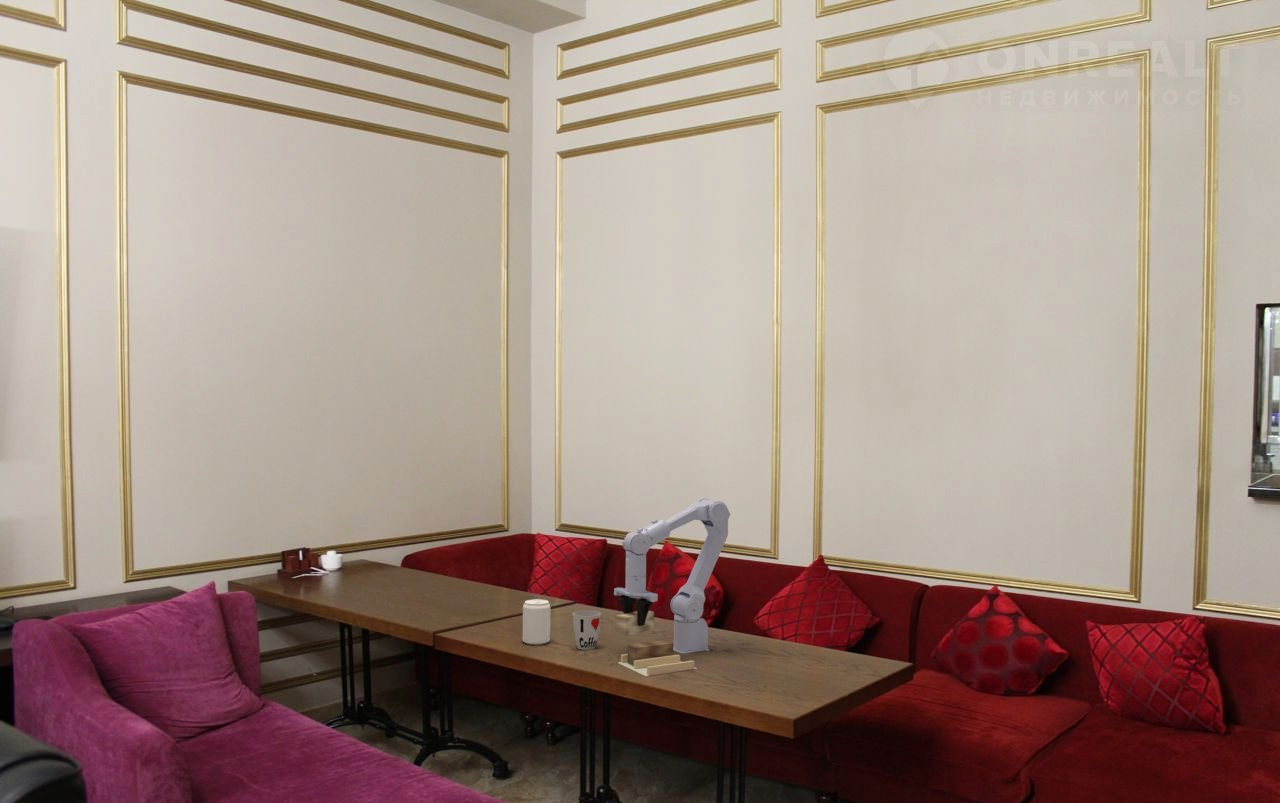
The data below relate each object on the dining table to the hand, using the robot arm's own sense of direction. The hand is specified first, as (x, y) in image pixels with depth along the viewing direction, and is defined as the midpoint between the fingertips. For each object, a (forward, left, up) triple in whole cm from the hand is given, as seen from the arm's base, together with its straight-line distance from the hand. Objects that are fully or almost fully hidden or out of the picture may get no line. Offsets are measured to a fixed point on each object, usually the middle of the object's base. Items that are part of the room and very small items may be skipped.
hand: (635, 624), depth 274 cm
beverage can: (+18, -27, -9) cm, 34 cm away
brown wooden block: (+1, +10, -8) cm, 13 cm away
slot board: (+1, +14, -9) cm, 16 cm away
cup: (+8, -14, -9) cm, 19 cm away
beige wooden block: (0, 0, -2) cm, 2 cm away
